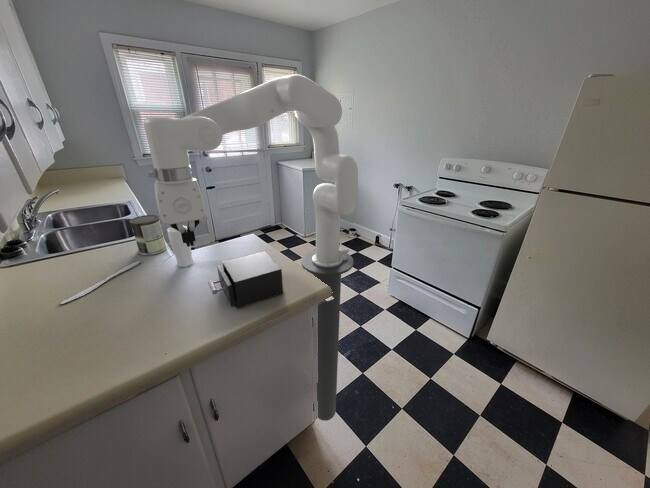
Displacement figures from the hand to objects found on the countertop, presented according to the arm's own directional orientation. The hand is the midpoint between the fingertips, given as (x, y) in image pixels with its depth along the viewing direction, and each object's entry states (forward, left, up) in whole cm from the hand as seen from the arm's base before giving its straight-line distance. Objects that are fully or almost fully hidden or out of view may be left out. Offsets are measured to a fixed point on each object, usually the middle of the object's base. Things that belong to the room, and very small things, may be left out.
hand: (190, 244), depth 72 cm
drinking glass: (+1, -32, -21) cm, 38 cm away
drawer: (-12, -2, -20) cm, 23 cm away
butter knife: (+26, -33, -21) cm, 47 cm away
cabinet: (-16, -2, -21) cm, 27 cm away
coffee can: (+11, -53, -21) cm, 58 cm away
